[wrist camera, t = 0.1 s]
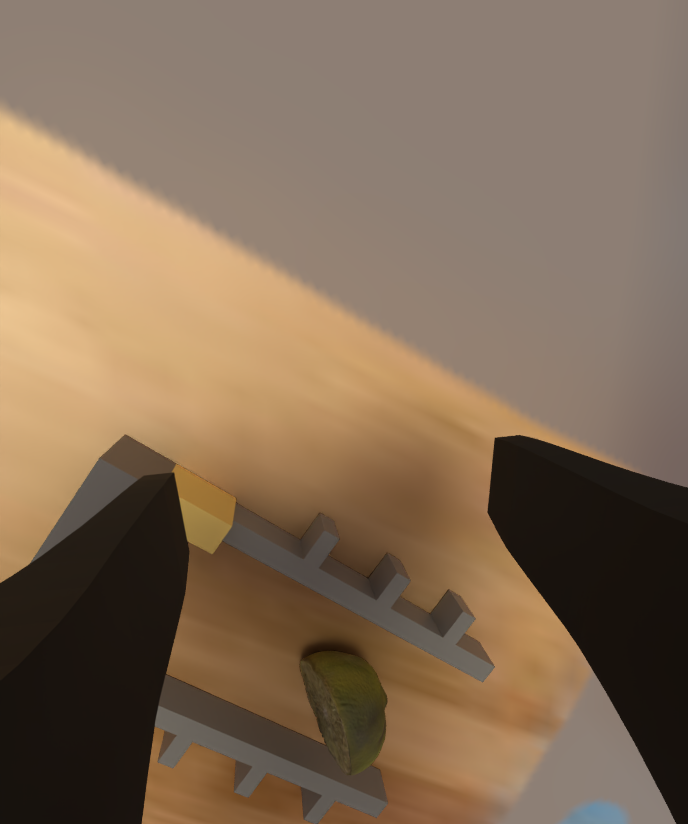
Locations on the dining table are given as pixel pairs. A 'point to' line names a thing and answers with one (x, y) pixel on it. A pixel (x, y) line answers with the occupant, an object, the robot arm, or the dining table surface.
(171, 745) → the grey u-shaped block
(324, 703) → the lime
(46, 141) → the dining table surface
